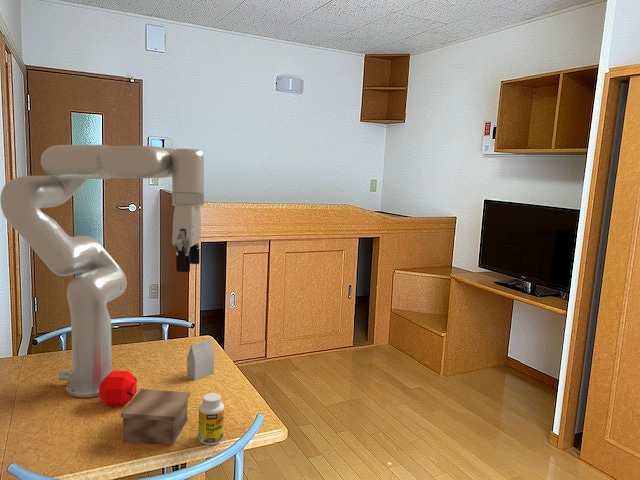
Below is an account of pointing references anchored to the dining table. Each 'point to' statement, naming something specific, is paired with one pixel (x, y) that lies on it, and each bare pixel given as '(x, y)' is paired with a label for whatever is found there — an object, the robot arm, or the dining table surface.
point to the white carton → (200, 360)
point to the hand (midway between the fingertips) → (188, 267)
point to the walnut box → (155, 417)
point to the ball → (118, 388)
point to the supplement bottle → (211, 419)
